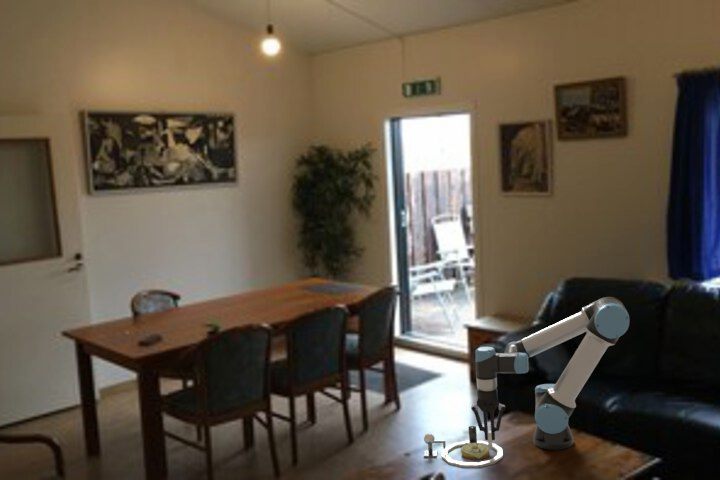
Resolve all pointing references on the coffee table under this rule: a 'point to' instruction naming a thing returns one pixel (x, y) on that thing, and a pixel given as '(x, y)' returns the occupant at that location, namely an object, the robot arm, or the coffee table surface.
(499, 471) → the coffee table surface
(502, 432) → the coffee table surface
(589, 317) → the robot arm
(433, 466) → the coffee table surface
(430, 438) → the dial indicator
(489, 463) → the ring
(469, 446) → the decorated donut
